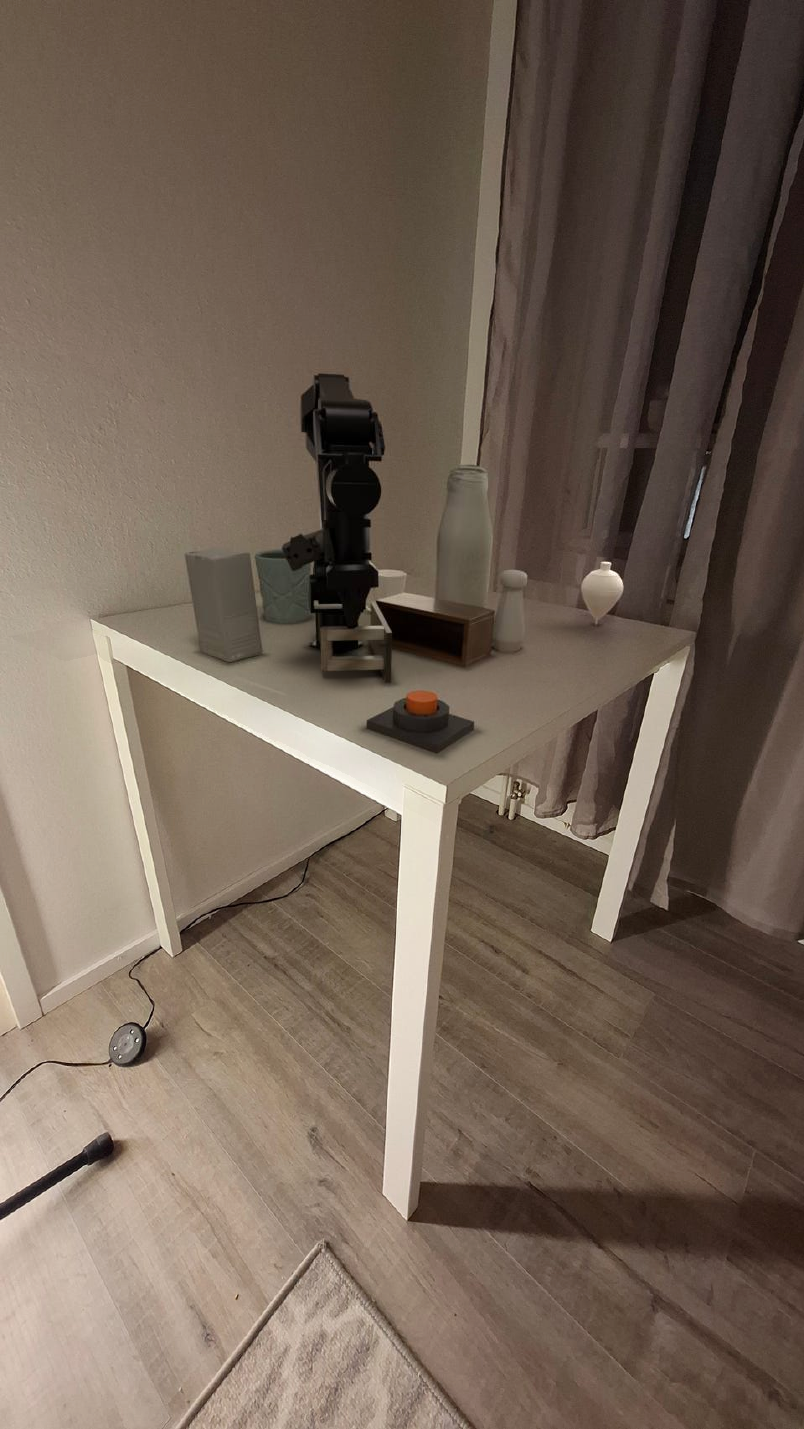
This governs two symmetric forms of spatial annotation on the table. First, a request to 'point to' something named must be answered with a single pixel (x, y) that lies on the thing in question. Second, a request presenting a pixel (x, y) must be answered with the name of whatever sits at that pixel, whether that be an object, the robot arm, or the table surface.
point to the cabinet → (438, 628)
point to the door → (375, 633)
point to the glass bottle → (465, 539)
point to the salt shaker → (510, 613)
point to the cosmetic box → (224, 603)
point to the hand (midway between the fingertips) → (351, 627)
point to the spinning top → (601, 590)
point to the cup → (389, 584)
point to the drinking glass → (283, 588)
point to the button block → (421, 726)
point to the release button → (421, 702)
